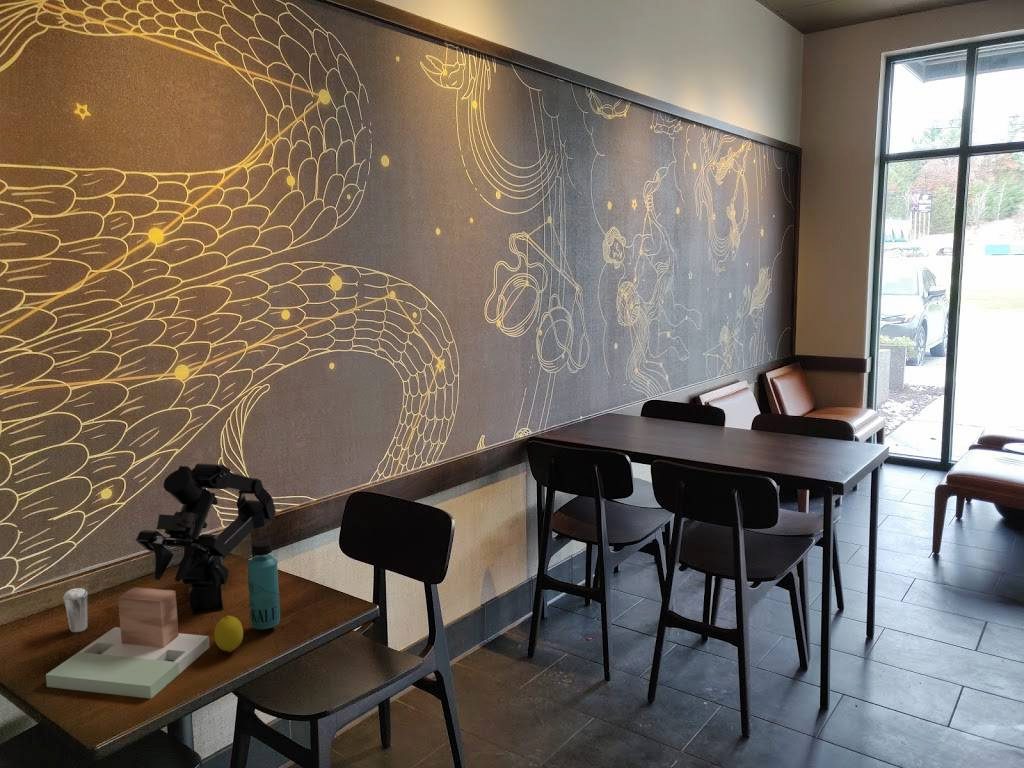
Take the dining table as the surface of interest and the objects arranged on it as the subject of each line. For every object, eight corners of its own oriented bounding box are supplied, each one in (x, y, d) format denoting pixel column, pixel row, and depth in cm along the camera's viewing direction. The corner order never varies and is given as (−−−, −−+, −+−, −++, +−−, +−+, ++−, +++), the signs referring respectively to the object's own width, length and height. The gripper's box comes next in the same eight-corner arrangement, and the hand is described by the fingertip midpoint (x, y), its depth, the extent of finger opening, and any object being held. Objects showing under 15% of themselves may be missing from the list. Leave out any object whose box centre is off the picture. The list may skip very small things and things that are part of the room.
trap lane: (115, 638, 161) (114, 627, 161) (209, 647, 157) (208, 636, 157) (46, 686, 143) (45, 674, 142) (151, 698, 139) (150, 686, 138)
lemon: (227, 661, 152) (225, 624, 150) (209, 654, 155) (207, 617, 153) (249, 649, 156) (247, 613, 155) (232, 642, 159) (230, 607, 158)
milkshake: (83, 635, 162) (79, 591, 161) (61, 633, 163) (57, 589, 162) (98, 625, 167) (94, 583, 165) (77, 623, 168) (73, 581, 166)
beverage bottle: (269, 619, 170) (264, 534, 166) (288, 627, 166) (283, 541, 163) (244, 630, 164) (238, 543, 161) (262, 639, 161) (258, 550, 157)
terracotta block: (137, 631, 159) (134, 587, 157) (178, 635, 157) (175, 590, 155) (121, 643, 154) (117, 597, 152) (163, 647, 152) (160, 601, 151)
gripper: (137, 494, 164) (106, 562, 155) (215, 499, 161) (188, 569, 152) (163, 517, 173) (135, 582, 164) (237, 522, 170) (213, 589, 161)
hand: (166, 580), depth 160 cm, fingers open, 4 cm apart
